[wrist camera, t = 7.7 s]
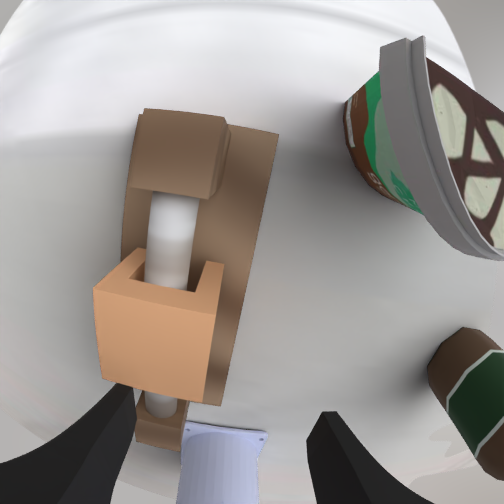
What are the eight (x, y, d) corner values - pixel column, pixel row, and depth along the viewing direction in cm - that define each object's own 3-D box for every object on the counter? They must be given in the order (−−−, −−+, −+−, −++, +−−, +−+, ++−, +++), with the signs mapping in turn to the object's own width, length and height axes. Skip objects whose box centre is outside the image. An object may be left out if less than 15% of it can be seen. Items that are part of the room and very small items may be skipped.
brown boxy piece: (221, 397, 21) (216, 461, 15) (128, 377, 20) (103, 434, 14) (276, 136, 15) (297, 118, 9) (144, 116, 15) (92, 95, 8)
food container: (298, 189, 16) (369, 225, 7) (322, 93, 14) (408, 26, 5) (447, 239, 17) (544, 292, 8) (466, 163, 16) (570, 181, 6)
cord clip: (211, 338, 17) (202, 402, 12) (135, 322, 16) (102, 378, 11) (224, 263, 15) (215, 315, 10) (137, 247, 15) (92, 288, 10)
